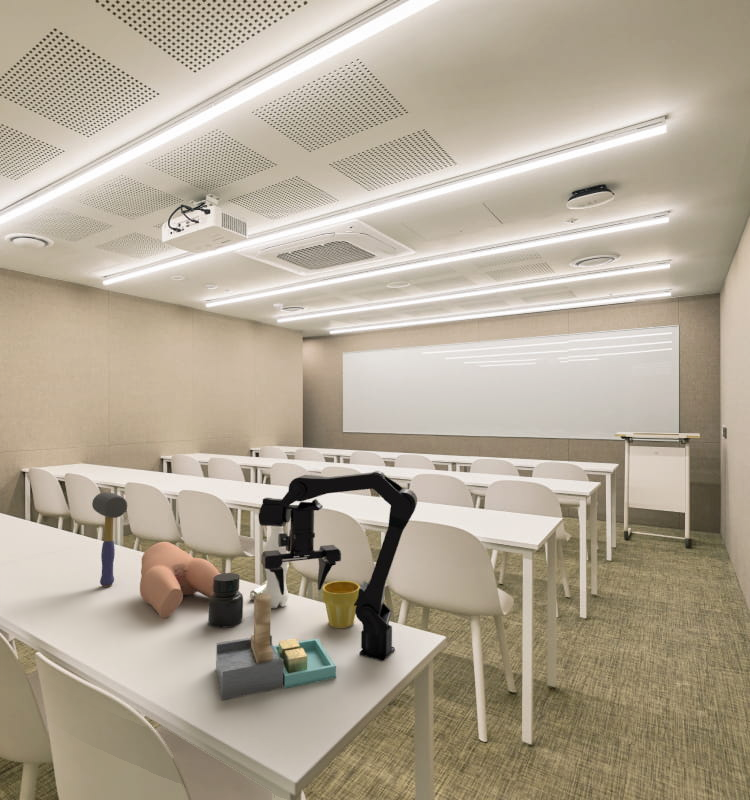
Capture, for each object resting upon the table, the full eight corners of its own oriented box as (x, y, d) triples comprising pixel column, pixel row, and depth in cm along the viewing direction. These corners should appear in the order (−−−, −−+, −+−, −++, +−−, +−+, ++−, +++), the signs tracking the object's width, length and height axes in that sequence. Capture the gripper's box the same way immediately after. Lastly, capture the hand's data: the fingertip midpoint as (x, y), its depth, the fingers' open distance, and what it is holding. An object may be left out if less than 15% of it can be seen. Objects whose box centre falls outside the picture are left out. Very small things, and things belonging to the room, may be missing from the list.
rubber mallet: (126, 587, 156) (129, 494, 157) (101, 594, 150) (104, 496, 151) (112, 578, 164) (114, 489, 165) (87, 584, 158) (90, 492, 159)
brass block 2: (284, 669, 106) (302, 666, 107) (288, 678, 102) (307, 675, 104) (284, 650, 106) (302, 647, 108) (288, 659, 102) (307, 655, 104)
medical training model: (155, 634, 132) (163, 592, 130) (120, 585, 148) (127, 547, 146) (223, 611, 148) (231, 573, 145) (185, 569, 164) (192, 535, 161)
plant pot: (313, 622, 131) (314, 586, 132) (342, 612, 139) (343, 577, 139) (338, 635, 124) (339, 596, 124) (367, 623, 131) (368, 587, 131)
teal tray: (317, 648, 116) (317, 638, 117) (335, 677, 104) (336, 666, 104) (271, 657, 112) (271, 646, 112) (284, 688, 99) (285, 676, 99)
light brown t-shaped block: (264, 644, 109) (265, 588, 110) (272, 663, 101) (274, 602, 101) (250, 646, 108) (252, 589, 109) (258, 666, 100) (259, 604, 100)
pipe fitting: (250, 604, 145) (273, 601, 146) (249, 591, 145) (272, 588, 146) (250, 595, 152) (272, 592, 154) (249, 582, 152) (271, 579, 154)
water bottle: (290, 600, 147) (291, 517, 148) (285, 610, 140) (286, 522, 140) (266, 600, 147) (268, 517, 148) (260, 609, 140) (262, 522, 141)
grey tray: (270, 658, 112) (271, 634, 112) (282, 687, 100) (283, 660, 100) (215, 668, 107) (216, 643, 107) (222, 700, 95) (222, 671, 95)
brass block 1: (278, 659, 110) (295, 655, 112) (282, 667, 107) (299, 664, 108) (278, 641, 110) (295, 638, 112) (282, 649, 107) (300, 645, 108)
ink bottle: (250, 617, 134) (250, 573, 135) (232, 630, 126) (233, 583, 126) (219, 613, 137) (220, 570, 137) (200, 625, 128) (201, 580, 129)
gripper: (328, 518, 130) (327, 577, 129) (257, 523, 123) (256, 585, 122) (342, 527, 120) (341, 591, 119) (266, 533, 112) (264, 601, 112)
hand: (300, 591), depth 118 cm, fingers open, 9 cm apart
